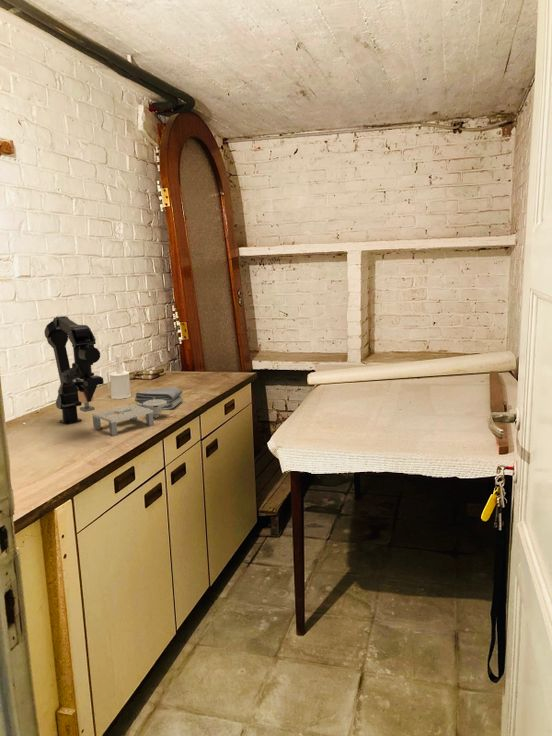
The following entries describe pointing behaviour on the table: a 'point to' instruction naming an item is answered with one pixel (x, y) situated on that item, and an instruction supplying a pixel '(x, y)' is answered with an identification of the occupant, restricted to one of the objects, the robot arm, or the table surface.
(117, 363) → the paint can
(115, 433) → the keyhole stand
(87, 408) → the peg
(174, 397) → the towel
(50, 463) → the table surface
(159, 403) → the showerhead
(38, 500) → the table surface
